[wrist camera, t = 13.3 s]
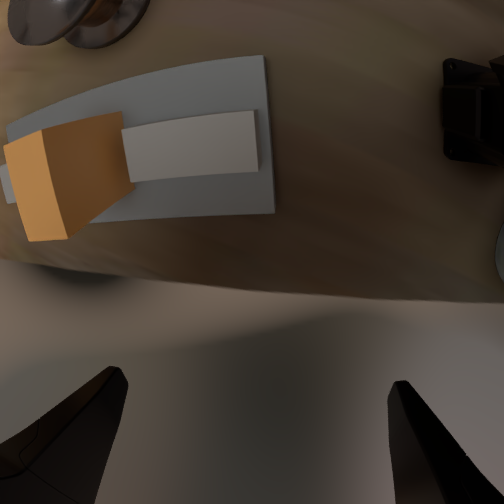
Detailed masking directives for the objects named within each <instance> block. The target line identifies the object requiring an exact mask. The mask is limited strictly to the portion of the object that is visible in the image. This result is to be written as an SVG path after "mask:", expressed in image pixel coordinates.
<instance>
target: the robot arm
mask: <svg viewBox="0 0 504 504" xmlns="http://www.w3.org/2000/svg"><path fill="white" fill-rule="evenodd" d="M450 63H452V64H453V67H454V68H453V70H452V69H451V68H450ZM489 63H490V66H491V68H492V69H490V68H487V67H484V66H480V65H477V64H473V63H469V62H465V61H462V60H457V59H453V58H449V59H446V60H445V61H444V84H445V86H444V87H443V127H444V129H445V136H444V154H445V156H446V157H447V158H449V159H451V160H456V161H465V162H473V163H481V164H488V165H495V166H501V167H503V168H504V55H502V56H500V57H497V58H495V59H493V60H490V61H489ZM452 148H453V154H452V155H450V150H451V149H452ZM127 390H128V381H127V379H126V378H125V376H124V374H123V372H122V370H121V369H120V368H119V367H114V366H109V367H107V368H106V369H104V370H103V371H102V372H100V373H99V374H98V375H96V376H95V377H94V378H92V379H91V380H90V381H88V382H87V383H86V384H84V385H83V386H82V387H81V388H79V389H78V390H76V391H75V392H74V393H72V394H71V395H70V396H68V397H67V398H66V399H64V400H63V401H62V402H60V403H59V404H58V405H56V406H55V407H54V408H52V409H51V410H50V411H48V412H47V413H46V414H44V415H43V416H42V417H40V419H38V420H36V421H35V422H34V423H32V424H31V425H30V426H28V427H27V428H25V429H24V430H22V431H21V432H19V433H18V434H16V435H14V436H13V437H11V438H9V439H8V440H6V441H4V442H3V443H1V444H0V504H94V503H95V499H96V496H97V492H98V489H99V486H100V482H101V479H102V476H103V473H104V469H105V466H106V463H107V460H108V457H109V454H110V451H111V448H112V444H113V442H114V439H115V436H116V433H117V430H118V427H119V424H120V420H121V416H122V412H123V407H124V403H125V399H126V395H127ZM387 404H388V428H389V448H390V454H391V463H392V471H393V480H394V490H395V501H396V504H504V496H503V495H502V494H501V493H500V492H499V491H498V490H497V489H496V488H495V487H494V486H493V485H492V484H491V483H490V482H489V481H488V480H487V479H486V477H485V476H484V475H483V474H482V473H481V472H480V471H479V469H478V468H477V467H476V466H475V465H474V463H473V462H472V461H471V459H470V458H469V457H468V456H466V453H465V452H464V451H463V449H462V448H461V447H460V445H459V444H458V443H457V441H456V440H455V439H454V438H453V436H452V435H451V434H450V433H449V431H448V430H447V429H446V428H445V426H444V425H443V424H442V423H441V421H440V420H439V419H438V418H437V416H436V415H435V414H434V413H433V411H432V410H431V409H430V408H429V406H428V405H427V404H426V403H425V402H424V400H423V399H422V398H421V397H420V395H419V394H418V393H417V392H416V391H415V389H414V388H413V387H412V386H411V385H410V383H409V382H407V381H406V380H403V381H395V382H394V383H393V386H392V388H391V391H390V393H389V395H388V400H387Z"/></svg>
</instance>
